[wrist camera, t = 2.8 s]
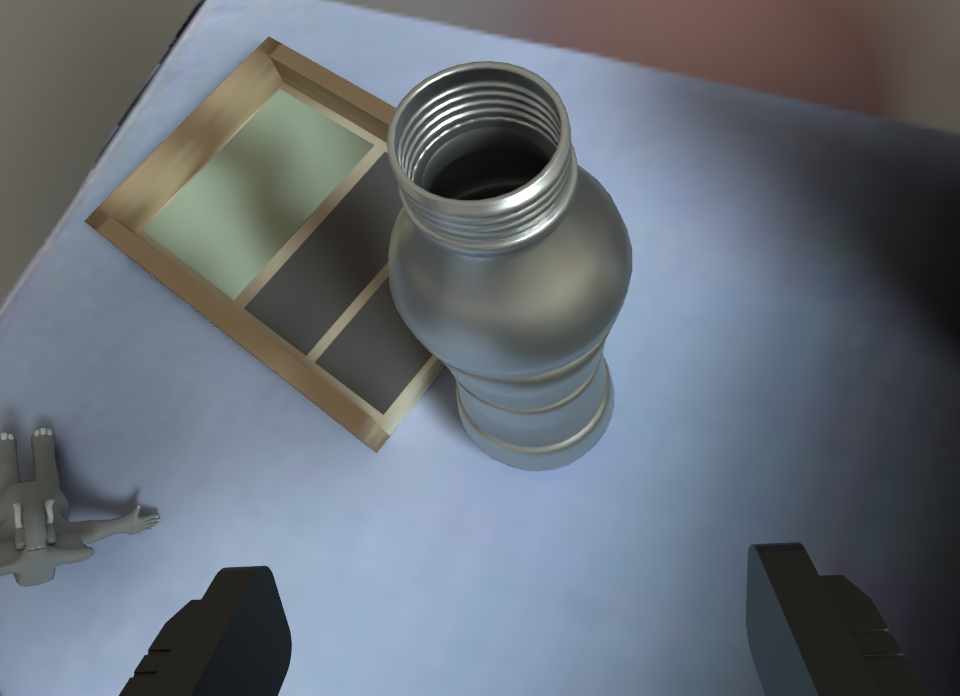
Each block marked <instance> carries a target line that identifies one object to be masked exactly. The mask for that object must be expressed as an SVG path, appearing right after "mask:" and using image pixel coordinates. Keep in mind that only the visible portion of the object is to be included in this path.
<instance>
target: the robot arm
mask: <svg viewBox="0 0 960 696" xmlns="http://www.w3.org/2000/svg"><path fill="white" fill-rule="evenodd" d="M746 627H747V635H748V641H749V647H750V651H751V655H752V658H753V662H754V664H755V667H756V670H757V673H758V676H759V679H760V682H761V685H762V688H763V691H764V694H765V696H928V694H927V693H926V691H925V689H924V688H923V686H922V684H921V682H920V681H919V679H918V677H917V676H916V674H915V672H914V671H913V669H912V667H911V666H910V664H909V662H908V660H907V659H904V657H903V652H902V650H901V649H900V647H899V645H898V644H897V642H896V640H895V639H894V637H893V635H892V634H889V631H888V627H887V625H886V623H885V622H884V620H883V618H882V617H881V615H880V613H879V612H878V610H877V608H876V606H875V605H874V603H873V601H872V600H871V599H870V598H869V597H868V596H867V595H866V594H864V593H863V592H862V591H861V590H860V589H858V588H857V587H856V586H855V585H854V584H852V583H851V582H850V581H849V580H848V579H846V578H845V577H844V576H843V575H826V576H819V575H818V573H817V571H816V569H815V567H814V565H813V563H812V561H811V559H810V557H809V555H808V554H807V552H806V550H805V548H804V546H803V545H802V544H801V543H799V542H794V543H773V544H752V545H750V546H749V550H748V567H747V600H746ZM291 649H292V642H291V633H290V629H289V626H288V622H287V619H286V616H285V613H284V609H283V606H282V603H281V599H280V596H279V593H278V590H277V586H276V583H275V580H274V576H273V574H272V572H271V570H270V569H269V567H267V566H251V567H229V568H223V569H221V570H220V571H219V572H218V573H217V575H216V576H215V578H214V579H213V581H212V583H211V584H210V586H209V588H208V589H207V591H206V593H205V594H204V596H203V598H202V599H201V600H191V601H190V602H189V603H188V604H186V605H185V606H184V607H183V608H182V609H181V610H180V611H179V612H177V613H176V614H175V615H174V616H173V617H172V618H171V619H170V620H169V621H167V622H166V623H165V625H164V626H163V628H162V629H161V631H160V632H159V634H158V635H157V637H156V639H155V640H154V642H153V643H152V645H151V646H150V648H149V649H148V655H145V656H144V657H143V659H142V660H141V662H140V663H139V665H138V667H137V668H136V670H135V671H134V677H133V678H130V679H129V681H128V682H127V684H126V685H125V687H124V688H123V690H122V691H121V693H120V694H119V696H278V694H279V691H280V689H281V686H282V684H283V681H284V679H285V676H286V674H287V671H288V668H289V664H290V659H291Z"/></svg>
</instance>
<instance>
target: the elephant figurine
mask: <svg viewBox="0 0 960 696" xmlns="http://www.w3.org/2000/svg"><path fill="white" fill-rule="evenodd" d="M31 445H32V450H33V464H34V481H30V482H23V483H21V481H20V476H19V468H18V458H17V442H16V439H15V438H14V436H13V435H12V434H8V436H7V433H6V432H5V433H1V435H0V576H4V575H7V574H11V573H14V576H15V579H16V582H17V583H18V584H19V585H20V586H25V587H27V586H34V585H39V584H43V583H45V582H48V581H50V580H52V579H53V578H54V576H55V569H56V567H57V566H58V565H61V564H67V563H75V562H80V561H83V560H85V559H87V558H89V557H90V556H92V555H93V554H94V552H95V551H94V549H93V548H92V547H88V546H86V544H90V543H93V542H96V541H98V540H101V539H103V538H105V537H108V536H110V535H113V534H118V533H127V534H135V533H139V532H141V531H143V530H145V529H149V528H150V529H152V528H154V525H158V523H159V522H158V521H160V518H159V517H158V513H155V514H151V515H146V516H139V515H138V514H139V511H140V509H141V506H140V505H137V506H136V507H135V508H134V509H133V510H132V511H131V513H129V514H127V515H125V516H123V517H119V518H116V519H112V520H88V521H81V522H69V521H68V520H67V519H68V516H69V509H70V505H69V502H68V499H67V497H66V496H65V495H64V493H63V492H62V491H61V490H60V481H59V476H58V472H57V467H56V461H55V436H54V434H53V432H52V430H51V429H48V428H47V431H46V428H40V431H39V430H36V431H35V432H34V434H33V435H32V438H31Z"/></svg>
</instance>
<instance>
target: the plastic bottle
mask: <svg viewBox="0 0 960 696" xmlns="http://www.w3.org/2000/svg"><path fill="white" fill-rule="evenodd" d="M387 151H388V157H389V162H390V165H391V168H392V171H393V174H394V176H395V178H396V180H397V182H398V188H399V195H400V198H401V201H402V203H403V207H402V209H401V211H400V212H399V214H398V216H397V219H396V222H395V224H394V227H393V230H392V233H391V239H390V247H389V257H388V275H389V286H390V291H391V294H392V297H393V300H394V303H395V306H396V309H397V310H398V312H399V314H400V315H401V317H402V319H403V320H404V322H405V324H406V325H407V327H408V328H409V329H410V330H411V331H412V333H413V334H414V335H415V337H416V338H417V339H418V340H419V341H420V342H421V343H422V344H423V345H424V346H425V347H426V348H427V349H428V350H429V352H431V353H432V354H433V355H434V356H435V357H436V358H438V359H439V360H440V361H441V362H442V363H443V364H444V365H446V366H447V367H448V368H449V369H450V371H451V372H452V374H453V375H454V377H455V378H456V382H457V383H456V395H457V403H458V411H459V415H460V418H461V421H462V424H463V427H464V428H465V430H466V432H467V433H468V435H469V437H470V438H471V440H472V441H473V442H474V443H475V444H476V445H477V446H478V447H479V448H480V449H481V450H482V451H483V452H485V453H486V454H487V455H489V456H490V457H491V458H493V459H495V460H497V461H499V462H501V463H503V464H506V465H508V466H510V467H513V468H517V469H521V470H525V471H547V470H555V469H558V468H561V467H564V466H567V465H569V464H571V463H572V462H574V461H576V460H578V459H580V458H581V457H582V456H583V455H584V454H586V453H587V452H588V451H589V450H590V449H591V448H592V447H594V446H595V445H596V444H597V442H598V441H599V440H600V438H601V437H602V436H603V434H604V433H605V431H606V429H607V427H608V425H609V422H610V420H611V417H612V413H613V408H614V387H613V382H612V378H611V374H610V370H609V367H608V365H607V362H606V360H605V358H604V356H603V348H604V344H605V340H606V338H607V336H608V334H609V332H610V330H611V328H612V326H613V324H614V323H615V321H616V319H617V317H618V315H619V312H620V310H621V308H622V306H623V304H624V300H625V297H626V294H627V291H628V287H629V282H630V278H631V273H632V246H631V242H630V238H629V234H628V230H627V227H626V225H625V223H624V221H623V219H622V217H621V215H620V213H619V211H618V209H617V207H616V205H615V203H614V201H613V199H612V197H611V195H610V194H609V193H608V192H607V191H606V189H605V188H604V187H603V186H602V185H601V183H600V182H599V181H598V180H597V179H596V178H595V177H593V176H592V175H591V174H590V173H588V172H587V171H586V170H585V169H583V168H582V167H580V166H578V165H577V159H576V154H575V150H574V147H573V145H572V143H571V128H570V123H569V119H568V114H567V112H566V109H565V106H564V104H563V102H562V100H561V98H560V96H559V94H558V93H557V92H556V91H555V90H554V89H553V87H552V86H551V85H550V84H549V83H548V82H547V81H545V80H544V79H543V78H541V77H540V76H539V75H537V74H535V73H533V72H531V71H529V70H527V69H525V68H523V67H519V66H516V65H512V64H509V63H501V62H492V61H486V62H471V63H466V64H461V65H456V66H453V67H450V68H448V69H445V70H442V71H440V72H438V73H436V74H434V75H432V76H430V77H428V78H426V79H425V80H423V81H422V82H421V83H419V84H418V85H417V86H415V87H414V88H413V89H412V90H411V91H410V92H409V93H408V94H407V95H406V96H405V97H404V98H403V99H402V101H401V102H400V104H399V105H398V107H397V108H396V110H395V111H394V113H393V116H392V118H391V121H390V124H389V126H388V133H387Z"/></svg>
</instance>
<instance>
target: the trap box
mask: <svg viewBox="0 0 960 696" xmlns="http://www.w3.org/2000/svg"><path fill="white" fill-rule="evenodd" d="M395 110H396V108H395V107H393V106H391V105H390V104H388V103H386V102H384V101H383V100H381V99H379V98H377V97H375V96H374V95H372V94H370V93H368V92H367V91H365V90H363V89H361V88H359V87H358V86H356V85H354V84H352V83H351V82H349V81H347V80H345V79H344V78H342V77H340V76H338V75H336V74H335V73H333V72H331V71H329V70H328V69H326V68H324V67H322V66H320V65H319V64H317V63H315V62H313V61H312V60H310V59H308V58H306V57H305V56H303V55H301V54H299V53H297V52H296V51H294V50H292V49H290V48H289V47H287V46H285V45H283V44H281V43H280V42H278V41H276V40H274V39H273V38H271V37H268V38H267V39H266V40H265V41H264V42H263V43H262V44H261V45H260V46H259V47H258V48H257V49H256V50H255V51H254V52H253V53H252V54H251V55H250V56H249V57H248V58H247V59H246V60H245V61H244V62H243V63H242V64H241V65H240V66H239V67H238V68H237V69H236V70H235V71H234V72H233V73H232V74H231V75H230V76H229V77H228V78H227V79H226V80H225V81H224V82H223V83H222V84H221V85H220V86H219V87H218V88H217V89H216V90H215V91H214V92H213V93H212V94H211V95H210V96H209V97H208V98H207V99H206V100H205V101H204V102H203V103H202V104H201V105H200V106H199V107H198V108H197V109H196V110H195V111H194V112H193V113H192V114H191V115H190V116H189V117H188V118H187V119H186V120H185V121H184V122H183V123H182V124H181V125H180V126H179V127H178V128H177V129H176V130H175V131H174V132H173V133H172V134H171V135H170V136H169V137H168V138H167V139H166V140H165V141H164V142H163V143H162V144H161V145H160V146H159V147H158V148H157V149H156V150H155V151H154V152H153V153H152V154H151V155H150V156H149V157H148V158H147V159H146V160H145V161H144V162H143V163H142V164H141V165H140V166H139V167H138V168H137V169H136V170H135V171H134V172H133V173H132V174H131V175H130V176H129V177H128V178H127V179H126V180H125V181H124V182H123V183H122V184H121V185H120V186H119V187H118V188H117V189H116V190H115V191H114V192H113V193H112V194H111V195H110V196H109V197H108V198H107V199H106V200H105V201H104V202H103V203H102V204H101V205H100V206H99V207H98V208H97V209H96V210H95V211H94V212H93V213H92V214H91V215H90V216H89V217H88V218H87V219H86V220H85V222H86V223H87V224H89V225H90V226H91V227H92V228H94V229H95V230H96V231H97V232H99V233H100V234H101V235H102V236H104V237H105V238H106V239H107V240H109V241H110V242H111V243H112V244H114V245H115V246H116V247H117V248H119V249H120V250H121V251H122V252H124V253H125V254H126V255H127V256H129V257H130V258H131V259H132V260H134V261H135V262H136V263H138V264H139V265H140V266H141V267H143V268H144V269H145V270H146V271H148V272H149V273H150V274H151V275H153V276H154V277H155V278H156V279H158V280H159V281H160V282H161V283H163V284H164V285H165V286H167V287H168V288H169V289H170V290H172V291H173V292H174V293H175V294H177V295H178V296H179V297H180V298H182V299H183V300H184V301H185V302H187V303H188V304H189V305H191V306H192V307H193V308H194V309H196V310H197V311H198V312H199V313H201V314H202V315H203V316H204V317H206V318H207V319H208V320H209V321H211V322H212V323H213V324H214V325H216V326H217V327H218V328H220V329H221V330H222V331H223V332H225V333H226V334H227V335H228V336H230V337H231V338H232V339H233V340H235V341H236V342H237V343H238V344H240V345H241V346H242V347H244V348H245V349H246V350H247V351H249V352H250V353H251V354H252V355H254V356H255V357H256V358H257V359H259V360H260V361H261V362H262V363H264V364H265V365H266V366H267V367H269V368H270V369H271V370H273V371H274V372H275V373H276V374H278V375H279V376H280V377H281V378H283V379H284V380H285V381H286V382H288V383H289V384H290V385H291V386H293V387H294V388H295V389H297V390H298V391H299V392H300V393H302V394H303V395H304V396H305V397H307V398H308V399H309V400H310V401H312V402H313V403H314V404H315V405H317V406H318V407H319V408H320V409H322V410H323V411H324V412H326V413H327V414H328V415H329V416H331V417H332V418H333V419H334V420H336V421H337V422H338V423H339V424H341V425H342V426H343V427H344V428H346V429H347V430H348V431H350V432H351V433H352V434H353V435H355V436H356V437H357V438H358V439H360V440H361V441H362V442H363V443H365V444H366V445H367V446H368V447H370V448H371V449H372V450H373V451H375V452H376V453H377V451H378V450H379V449H380V448H381V446H382V445H383V444H384V443H385V441H386V440H387V439H388V438H389V436H390V435H391V434H392V433H393V431H394V430H395V429H396V428H397V426H398V425H399V424H400V423H401V422H402V420H403V419H404V418H405V417H406V415H407V414H408V413H409V412H410V410H411V409H412V408H413V407H414V405H415V404H416V403H417V402H418V400H419V399H420V398H421V397H422V395H423V394H424V393H425V392H426V390H427V389H428V388H429V387H430V385H431V384H432V383H433V382H434V380H435V379H436V378H437V377H438V375H439V374H440V373H441V372H442V370H443V369H444V368H445V367H446V365H444V364H443V363H442V362H441V361H440V360H439V359H438V358H436V357H435V356H434V355H433V354H432V353H431V352H429V350H428V349H427V348H426V347H425V346H424V345H423V344H422V343H421V342H420V341H419V340H418V339H417V338H416V337H415V335H414V334H413V333H412V331H411V330H410V329H409V328H408V327H407V325H406V324H405V322H404V320H403V319H402V317H401V315H400V314H399V312H398V310H397V309H396V306H395V303H394V300H393V297H392V294H391V291H390V286H389V275H388V257H389V247H390V239H391V233H392V230H393V227H394V224H395V222H396V219H397V216H398V214H399V212H400V211H401V209H402V207H403V203H402V201H401V198H400V195H399V188H398V182H397V180H396V178H395V176H394V174H393V171H392V168H391V165H390V162H389V157H388V151H387V133H388V126H389V124H390V121H391V118H392V116H393V113H394V111H395Z"/></svg>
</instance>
